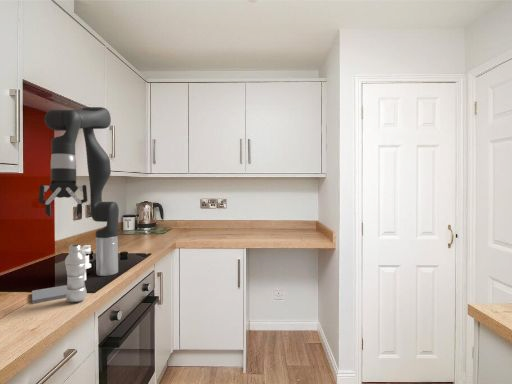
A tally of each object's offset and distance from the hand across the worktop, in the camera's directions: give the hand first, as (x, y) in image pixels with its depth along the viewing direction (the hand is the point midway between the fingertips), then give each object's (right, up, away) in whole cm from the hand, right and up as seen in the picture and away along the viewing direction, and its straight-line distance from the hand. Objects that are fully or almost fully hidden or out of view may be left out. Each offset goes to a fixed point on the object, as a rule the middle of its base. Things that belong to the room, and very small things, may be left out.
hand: (64, 215), depth 112 cm
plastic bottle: (+1, -31, +5) cm, 32 cm away
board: (-11, -31, +12) cm, 35 cm away
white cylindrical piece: (-10, -30, +30) cm, 43 cm away
